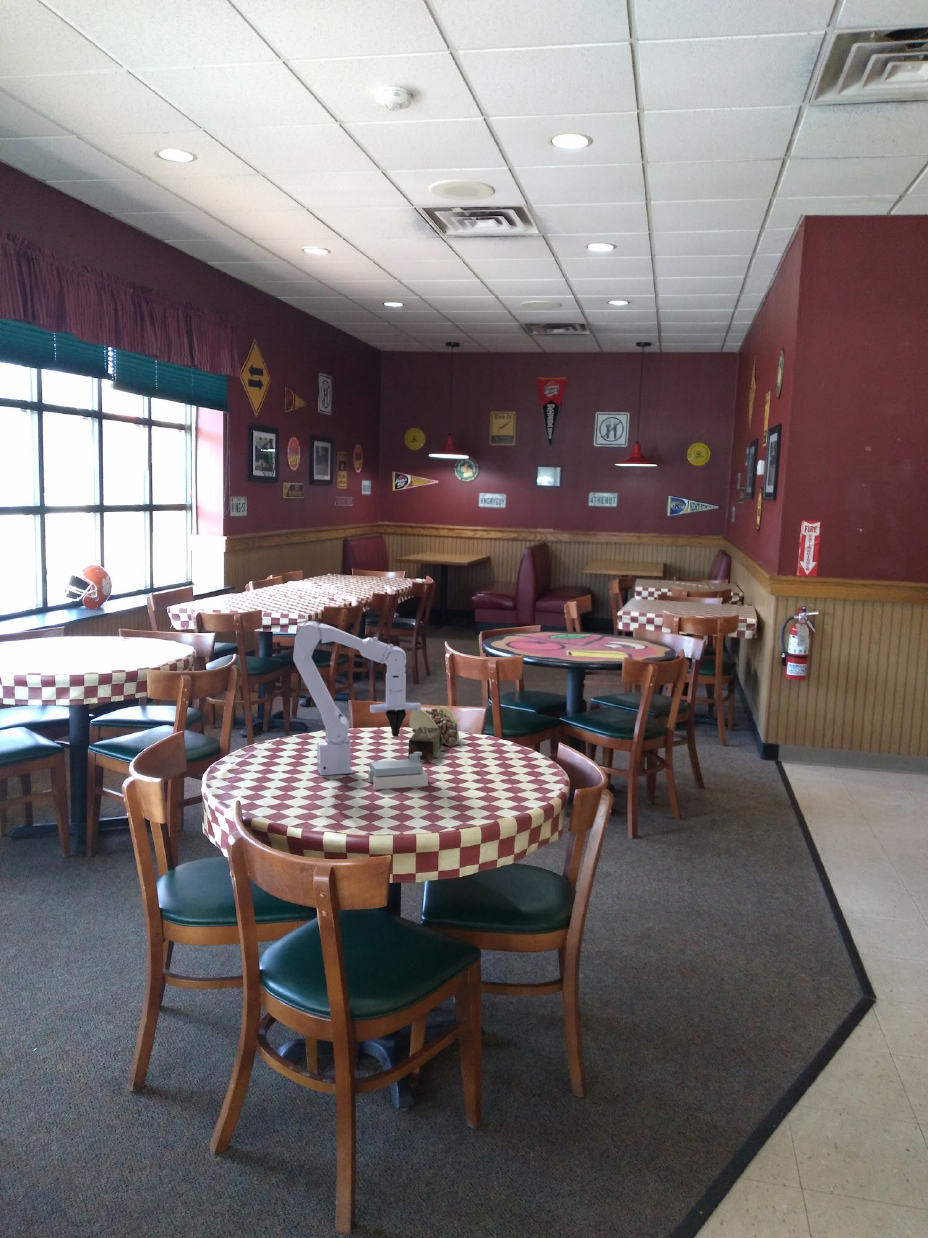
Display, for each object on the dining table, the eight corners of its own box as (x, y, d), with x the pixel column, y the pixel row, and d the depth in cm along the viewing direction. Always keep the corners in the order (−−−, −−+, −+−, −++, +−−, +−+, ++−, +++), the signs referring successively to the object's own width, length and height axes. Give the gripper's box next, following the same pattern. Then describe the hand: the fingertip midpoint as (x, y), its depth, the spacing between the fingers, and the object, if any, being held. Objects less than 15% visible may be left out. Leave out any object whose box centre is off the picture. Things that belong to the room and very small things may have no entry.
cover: (375, 776, 248) (375, 764, 247) (367, 766, 257) (367, 755, 257) (429, 772, 252) (430, 760, 252) (420, 762, 262) (420, 751, 261)
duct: (374, 789, 248) (374, 767, 247) (367, 779, 257) (367, 758, 256) (428, 785, 252) (428, 763, 252) (419, 775, 262) (419, 754, 261)
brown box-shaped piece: (442, 745, 296) (442, 725, 295) (433, 762, 277) (433, 740, 276) (417, 744, 297) (418, 724, 296) (407, 760, 278) (407, 739, 277)
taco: (427, 727, 320) (428, 699, 319) (466, 745, 297) (467, 714, 296) (402, 730, 315) (403, 701, 314) (440, 748, 292) (440, 717, 291)
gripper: (373, 693, 257) (373, 740, 259) (423, 691, 261) (423, 737, 263) (368, 688, 264) (368, 734, 265) (417, 686, 268) (416, 732, 270)
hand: (395, 735), depth 265 cm, fingers closed
